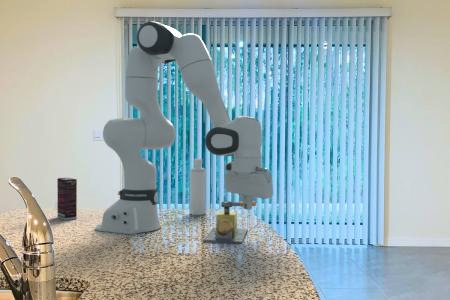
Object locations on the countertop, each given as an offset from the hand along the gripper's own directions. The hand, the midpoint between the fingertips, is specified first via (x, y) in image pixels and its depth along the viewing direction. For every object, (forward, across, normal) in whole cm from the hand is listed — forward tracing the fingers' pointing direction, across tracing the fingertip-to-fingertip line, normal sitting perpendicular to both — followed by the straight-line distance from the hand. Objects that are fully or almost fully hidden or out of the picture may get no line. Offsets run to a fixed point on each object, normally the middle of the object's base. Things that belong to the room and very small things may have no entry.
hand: (247, 209), depth 125 cm
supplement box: (+10, +65, +39) cm, 76 cm away
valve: (+9, +5, +4) cm, 12 cm away
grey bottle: (+10, +43, -9) cm, 45 cm away
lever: (-1, +3, +1) cm, 4 cm away
